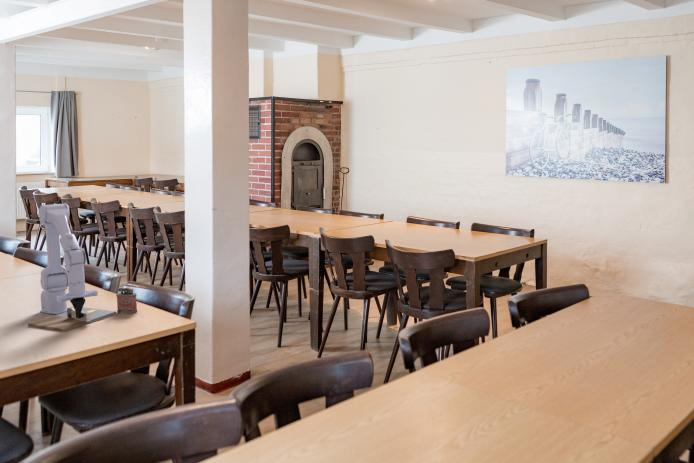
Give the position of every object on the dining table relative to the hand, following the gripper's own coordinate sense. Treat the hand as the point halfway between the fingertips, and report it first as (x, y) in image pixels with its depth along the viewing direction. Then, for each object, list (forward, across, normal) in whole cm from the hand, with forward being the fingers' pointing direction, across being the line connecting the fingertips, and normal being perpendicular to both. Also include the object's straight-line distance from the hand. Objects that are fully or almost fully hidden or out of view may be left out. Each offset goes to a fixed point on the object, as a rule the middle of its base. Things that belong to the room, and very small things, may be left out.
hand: (78, 317), depth 256 cm
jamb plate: (+3, -5, +6) cm, 8 cm away
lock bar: (+1, +1, +3) cm, 3 cm away
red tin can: (+3, +21, +4) cm, 22 cm away
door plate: (+3, +7, +10) cm, 13 cm away
